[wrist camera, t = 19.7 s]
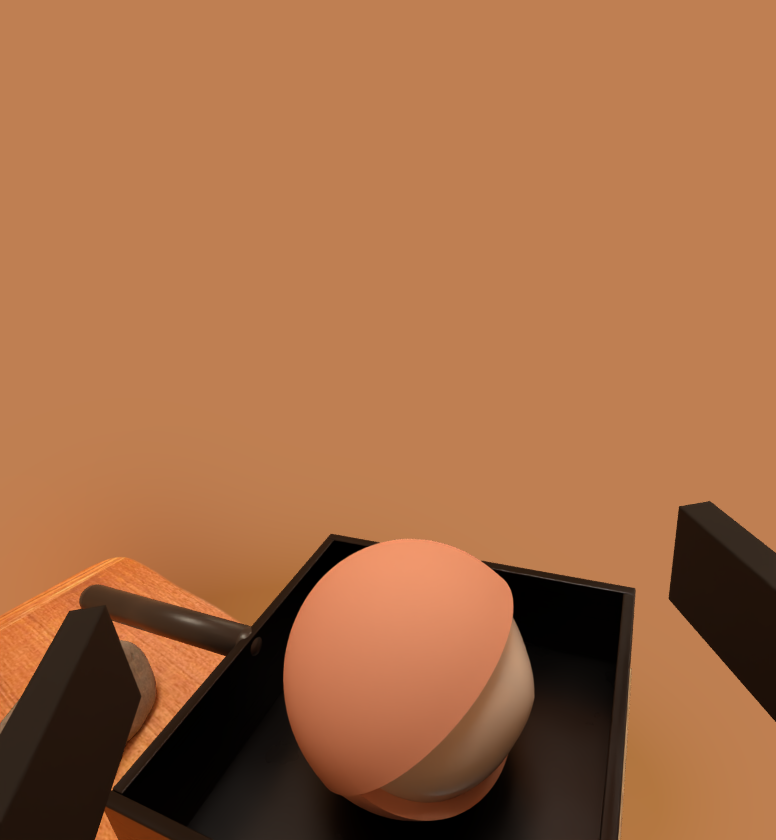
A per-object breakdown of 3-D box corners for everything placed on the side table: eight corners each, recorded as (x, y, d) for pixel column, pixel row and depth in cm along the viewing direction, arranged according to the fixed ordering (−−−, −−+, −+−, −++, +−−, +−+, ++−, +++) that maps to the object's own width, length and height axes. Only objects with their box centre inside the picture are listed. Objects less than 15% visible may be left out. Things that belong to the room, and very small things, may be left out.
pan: (629, 668, 22) (635, 585, 20) (595, 1148, 12) (603, 1056, 10) (204, 569, 31) (186, 505, 29) (-33, 788, 20) (-83, 708, 19)
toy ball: (512, 934, 14) (502, 719, 11) (260, 833, 17) (197, 640, 14) (551, 684, 21) (552, 505, 18) (364, 642, 24) (337, 482, 21)
